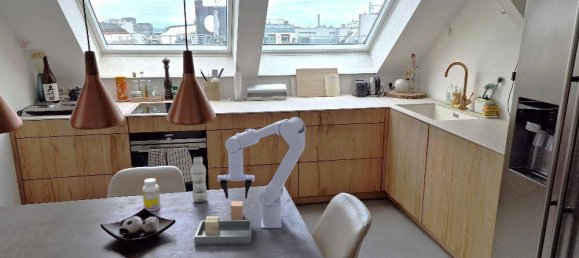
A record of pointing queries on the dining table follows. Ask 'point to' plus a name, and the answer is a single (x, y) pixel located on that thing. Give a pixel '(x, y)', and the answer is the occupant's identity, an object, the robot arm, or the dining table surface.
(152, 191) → the supplement bottle
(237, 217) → the terracotta block
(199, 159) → the plastic bottle
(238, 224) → the slate tray
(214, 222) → the beech block
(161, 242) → the dining table surface
